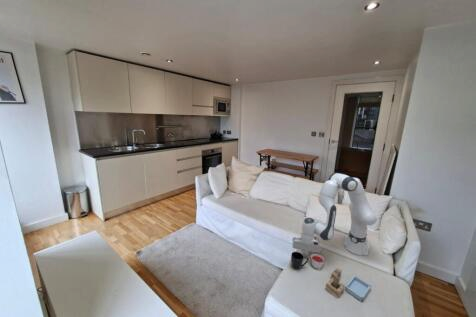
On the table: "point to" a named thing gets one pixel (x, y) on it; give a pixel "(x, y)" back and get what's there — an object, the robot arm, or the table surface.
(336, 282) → the dowel
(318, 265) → the candle
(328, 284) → the socket block
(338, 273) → the block
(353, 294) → the tray
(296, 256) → the mug
